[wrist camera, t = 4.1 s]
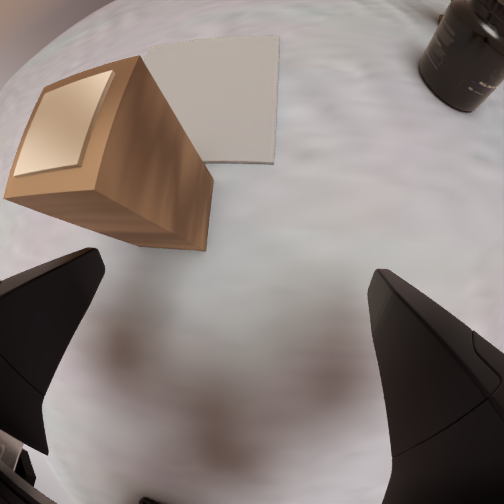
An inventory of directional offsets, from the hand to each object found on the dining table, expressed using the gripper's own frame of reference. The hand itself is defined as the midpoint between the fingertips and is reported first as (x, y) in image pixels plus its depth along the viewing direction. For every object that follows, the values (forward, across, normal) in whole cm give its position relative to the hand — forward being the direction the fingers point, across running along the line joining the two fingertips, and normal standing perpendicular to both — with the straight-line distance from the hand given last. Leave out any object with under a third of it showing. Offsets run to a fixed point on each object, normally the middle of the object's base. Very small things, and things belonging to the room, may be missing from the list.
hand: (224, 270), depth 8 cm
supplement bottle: (+19, +17, +7) cm, 26 cm away
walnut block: (+8, -5, -3) cm, 10 cm away
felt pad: (+15, -5, +4) cm, 17 cm away
